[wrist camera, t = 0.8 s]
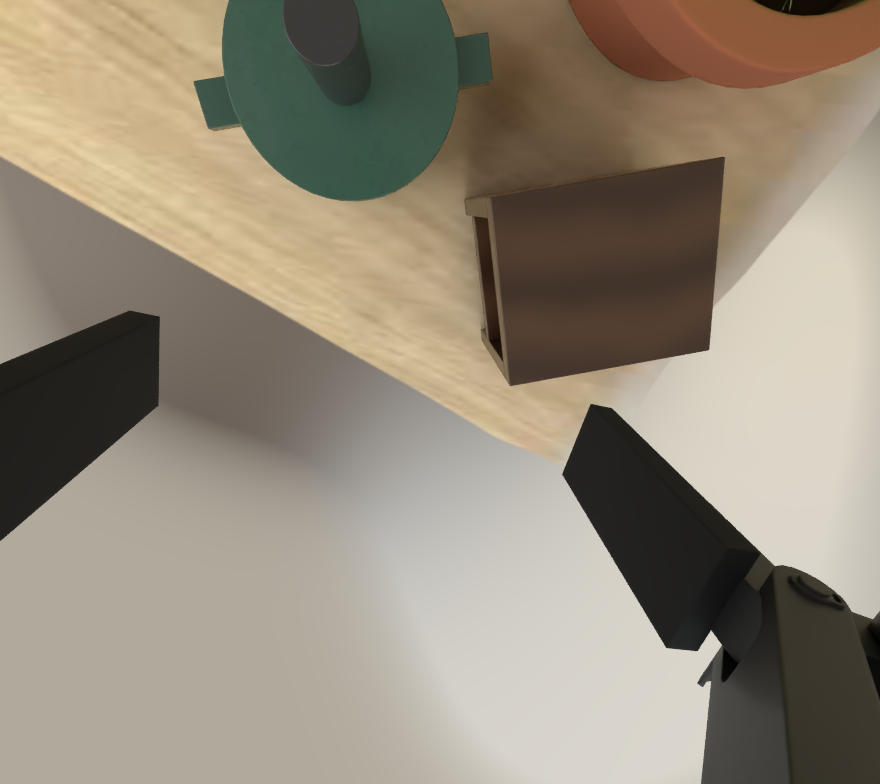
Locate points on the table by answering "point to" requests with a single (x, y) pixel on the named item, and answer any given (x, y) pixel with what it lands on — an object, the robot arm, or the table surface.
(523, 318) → the wooden side table
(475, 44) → the pot
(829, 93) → the table surface
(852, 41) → the potted cactus
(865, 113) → the table surface
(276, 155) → the lid
